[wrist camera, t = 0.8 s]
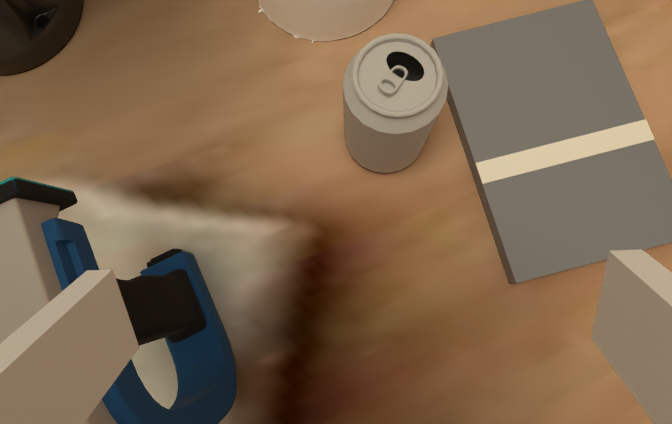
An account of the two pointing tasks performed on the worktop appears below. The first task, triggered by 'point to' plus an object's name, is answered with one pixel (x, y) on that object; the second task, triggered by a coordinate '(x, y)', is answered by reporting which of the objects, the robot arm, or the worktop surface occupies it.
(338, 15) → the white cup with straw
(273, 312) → the worktop surface
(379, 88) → the can
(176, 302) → the handheld scanner
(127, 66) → the worktop surface
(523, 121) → the board
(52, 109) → the worktop surface
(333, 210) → the worktop surface
